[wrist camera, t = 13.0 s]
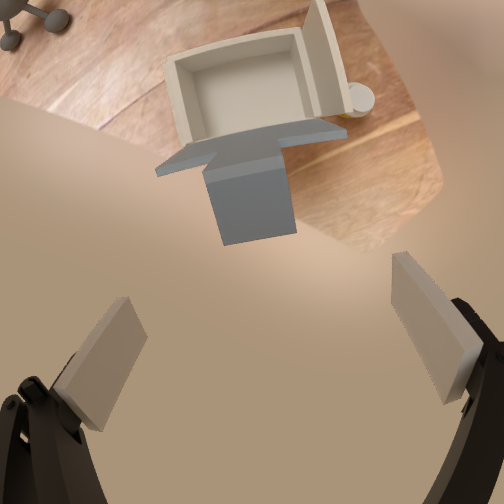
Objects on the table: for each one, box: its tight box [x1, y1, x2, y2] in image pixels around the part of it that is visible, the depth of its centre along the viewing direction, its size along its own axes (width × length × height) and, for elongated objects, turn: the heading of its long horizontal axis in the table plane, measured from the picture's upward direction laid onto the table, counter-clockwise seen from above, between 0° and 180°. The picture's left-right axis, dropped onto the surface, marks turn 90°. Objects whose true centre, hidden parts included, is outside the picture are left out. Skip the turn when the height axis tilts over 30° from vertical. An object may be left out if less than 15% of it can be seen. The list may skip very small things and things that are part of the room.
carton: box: [162, 0, 354, 147], centre depth 31 cm, size 14×20×22 cm
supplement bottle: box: [337, 82, 375, 118], centre depth 36 cm, size 5×5×10 cm
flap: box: [155, 118, 348, 246], centre depth 27 cm, size 20×17×5 cm
